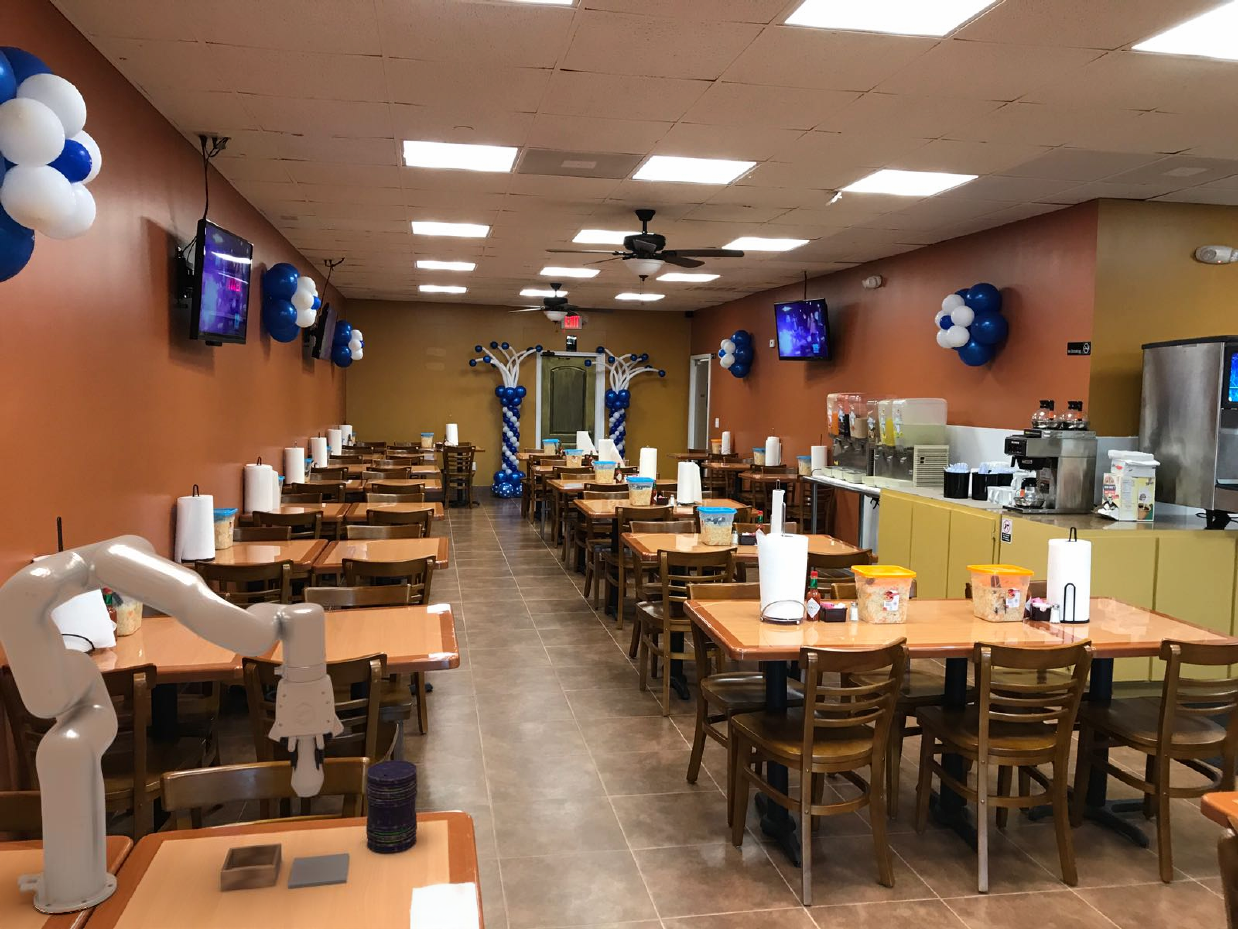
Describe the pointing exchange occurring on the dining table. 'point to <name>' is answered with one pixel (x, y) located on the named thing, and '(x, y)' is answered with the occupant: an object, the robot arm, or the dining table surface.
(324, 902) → the dining table surface
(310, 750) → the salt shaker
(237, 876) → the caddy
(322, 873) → the coaster
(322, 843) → the dining table surface
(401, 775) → the dark blue cylinder
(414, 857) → the dining table surface
